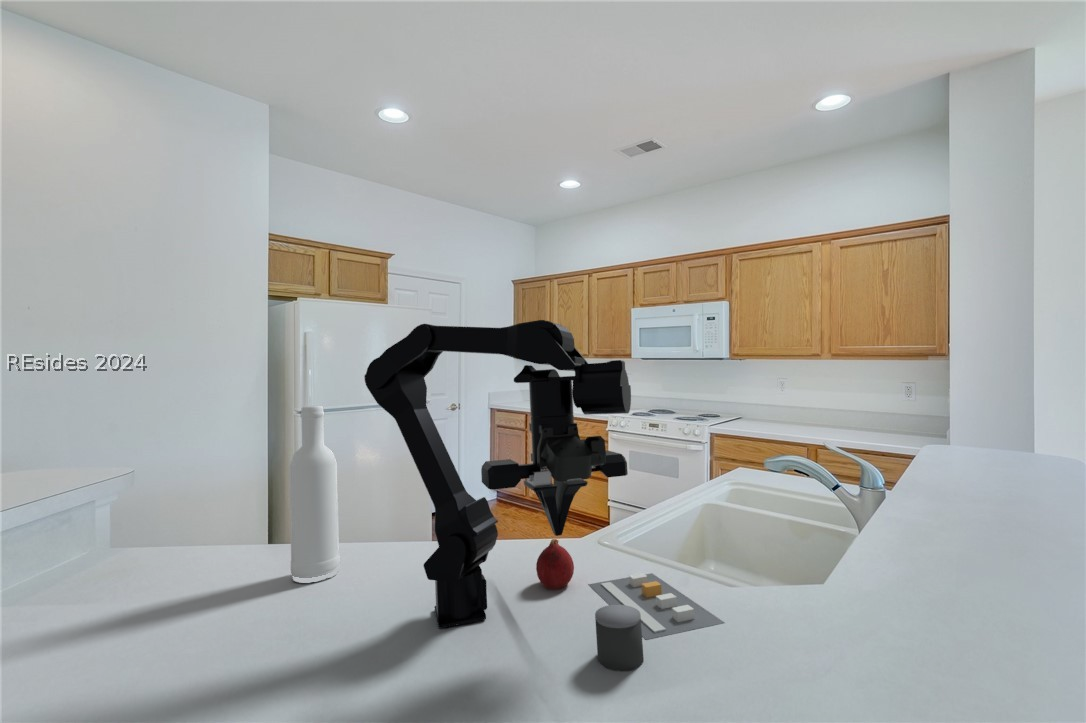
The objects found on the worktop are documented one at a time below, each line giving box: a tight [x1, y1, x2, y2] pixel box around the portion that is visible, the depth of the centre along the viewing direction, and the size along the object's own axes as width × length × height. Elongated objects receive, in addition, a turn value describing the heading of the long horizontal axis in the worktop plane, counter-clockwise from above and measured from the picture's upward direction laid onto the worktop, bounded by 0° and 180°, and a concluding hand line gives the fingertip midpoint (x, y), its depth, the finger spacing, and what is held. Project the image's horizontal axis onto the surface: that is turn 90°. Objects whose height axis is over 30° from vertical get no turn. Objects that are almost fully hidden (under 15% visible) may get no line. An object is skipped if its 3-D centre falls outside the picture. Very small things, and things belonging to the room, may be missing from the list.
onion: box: [535, 537, 575, 590], centre depth 76 cm, size 6×6×8 cm
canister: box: [594, 604, 644, 672], centre depth 55 cm, size 5×5×6 cm
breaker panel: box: [587, 572, 726, 641], centre depth 69 cm, size 11×18×2 cm, turn 17°
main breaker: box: [642, 581, 662, 597], centre depth 71 cm, size 2×1×1 cm, turn 107°
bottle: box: [289, 405, 341, 578], centre depth 89 cm, size 8×8×30 cm
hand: (557, 534), depth 65 cm, fingers closed
